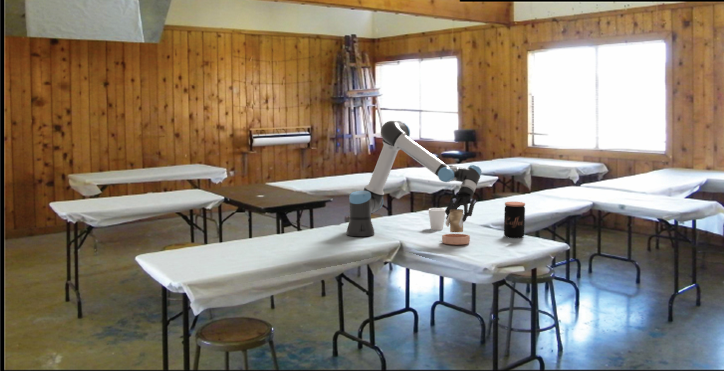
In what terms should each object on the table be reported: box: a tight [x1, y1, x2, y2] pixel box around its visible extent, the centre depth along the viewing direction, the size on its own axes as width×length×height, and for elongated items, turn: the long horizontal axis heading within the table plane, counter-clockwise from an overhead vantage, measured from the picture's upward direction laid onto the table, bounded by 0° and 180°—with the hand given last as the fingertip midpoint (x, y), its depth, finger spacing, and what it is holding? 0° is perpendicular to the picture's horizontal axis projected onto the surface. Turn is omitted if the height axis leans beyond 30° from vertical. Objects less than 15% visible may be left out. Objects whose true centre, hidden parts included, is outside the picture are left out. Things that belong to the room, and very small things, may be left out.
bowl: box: [441, 233, 471, 246], centre depth 339 cm, size 14×14×4 cm
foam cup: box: [428, 207, 446, 231], centre depth 379 cm, size 10×9×13 cm
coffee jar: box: [503, 201, 526, 239], centre depth 358 cm, size 11×11×18 cm
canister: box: [449, 208, 464, 233], centre depth 338 cm, size 7×7×11 cm
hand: (453, 225), depth 335 cm, fingers closed on canister, 6 cm apart
